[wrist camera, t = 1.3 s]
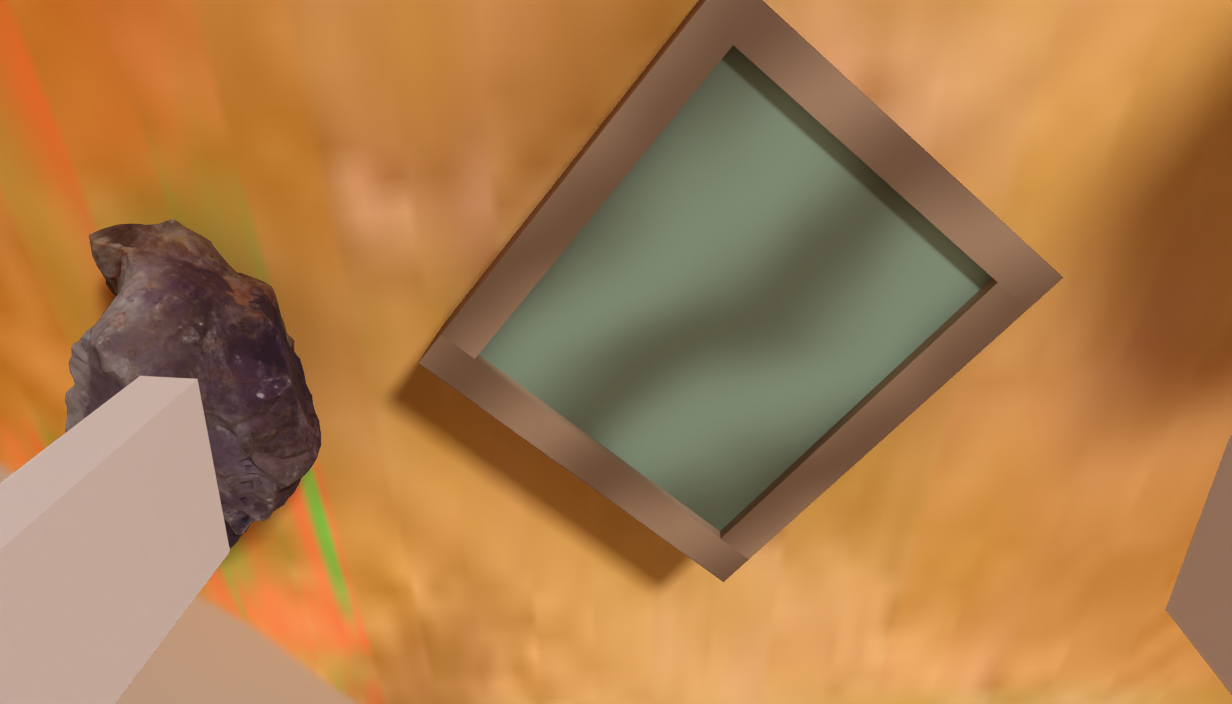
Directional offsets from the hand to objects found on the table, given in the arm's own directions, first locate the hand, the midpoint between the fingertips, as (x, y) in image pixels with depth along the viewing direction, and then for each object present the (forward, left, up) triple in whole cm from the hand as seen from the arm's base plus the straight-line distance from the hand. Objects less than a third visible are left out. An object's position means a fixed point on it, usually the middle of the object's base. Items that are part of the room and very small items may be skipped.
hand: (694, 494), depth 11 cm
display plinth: (+4, -3, -22) cm, 23 cm away
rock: (-9, -18, -23) cm, 30 cm away
